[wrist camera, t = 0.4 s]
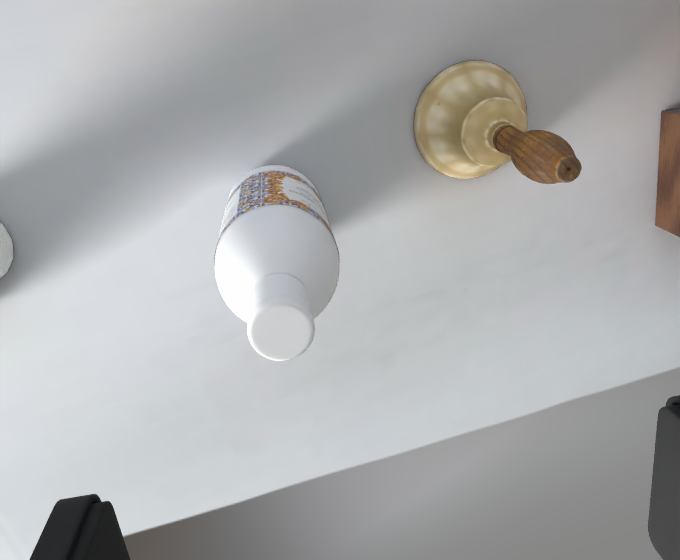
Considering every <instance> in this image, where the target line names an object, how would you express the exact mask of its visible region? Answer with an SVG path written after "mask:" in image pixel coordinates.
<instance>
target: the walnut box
mask: <svg viewBox="0 0 680 560" xmlns="http://www.w3.org/2000/svg"><path fill="white" fill-rule="evenodd" d="M655 225H656V226H658V227H660V228H662V229H664V230H666V231H668V232H670V233H672V234H675V235H677V236H679V237H680V108H676V109H670V110H664V111H662V113H661V131H660V150H659V168H658V187H657V205H656V224H655Z"/></svg>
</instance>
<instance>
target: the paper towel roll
mask: <svg viewBox="0 0 680 560" xmlns="http://www.w3.org/2000/svg"><path fill="white" fill-rule="evenodd" d="M12 260H13V244H12V240H11V238H10V236H9V234H8V232H7V230H6V228H5V226H4V225H3V224H2V223H0V278H1V277H2V276H3V275H4V274H6V273H7V272H8V269H9V267H10V264H11V262H12Z"/></svg>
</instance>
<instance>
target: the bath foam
mask: <svg viewBox="0 0 680 560" xmlns="http://www.w3.org/2000/svg"><path fill="white" fill-rule="evenodd" d="M214 267H215V275H216V280H217V284H218V287H219V290H220V293H221V295H222V297H223V298H224V300H225V302H226V303H227V305H228V306H229V307H230V309H231V310H232V311H233V312H234V313H235V314H236V315H237V316H238V317H240V318H241V319H242V320H244V321H245V322H247V323H248V327H247V331H248V337H249V341H250V343H251V345H252V346H253V348H254V349H255V350H256V351H257V352H258V353H259V354H260V355H262V356H264V357H266V358H268V359H271V360H277V361H284V360H290V359H293V358H295V357H297V356H299V355H301V354H302V353H303V352H304V351H306V349H307V348H308V347H309V346H310V344H311V342H312V340H313V337H314V331H315V327H314V318H315V317H317V316H318V315H319V314H320V313H321V312H322V311H323V310H324V308H325V307H326V306H327V305H328V303H329V302H330V300H331V298H332V296H333V294H334V292H335V289H336V286H337V282H338V277H339V252H338V248H337V245H336V242H335V239H334V236H333V233H332V230H331V227H330V224H329V221H328V218H327V216H326V213H325V210H324V207H323V204H322V201H321V199H320V196H319V194H318V192H317V190H316V188H315V187H314V185H313V184H312V183H311V181H310V180H309V179H308V178H307V177H305V176H304V175H303V174H301V173H300V172H298V171H296V170H294V169H292V168H289V167H285V166H280V165H268V166H263V167H259V168H256V169H254V170H252V171H250V172H248V173H247V174H245V175H244V176H243V177H242V178H241V179H240V180H239V181H238V182H237V183H236V185H235V186H234V188H233V189H232V191H231V193H230V195H229V198H228V201H227V205H226V209H225V213H224V217H223V222H222V226H221V230H220V235H219V239H218V243H217V248H216V252H215V260H214Z"/></svg>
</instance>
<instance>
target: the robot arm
mask: <svg viewBox="0 0 680 560" xmlns="http://www.w3.org/2000/svg"><path fill="white" fill-rule="evenodd" d="M648 532H649V536H650V539H651V542H652V544H653V546H654V548H655V549H656V551H657V552H658V553H659V555H660V556H661V557H662V559H663V560H680V395H679V396H674V397H671V398H669V399H668V401H667V402H666V406H665V407H663V408H661V409H660V410H659V413H658V421H657V432H656V443H655V454H654V465H653V476H652V489H651V499H650V511H649V521H648ZM30 560H130V558H129V555H128V552H127V549H126V545H125V542H124V539H123V536H122V533H121V530H120V527H119V524H118V521H117V518H116V515H115V512H114V508H113V506H112V504H111V503H110V501H105V502H101V500H100V498H99V497H98V496H97V495H96V494H91V495H85V496H79V497H73V498H67V499H62V500H59V501H58V502H57V503H56V504H55V506H54V508H53V510H52V512H51V514H50V517H49V519H48V521H47V523H46V525H45V527H44V530H43V532H42V534H41V536H40V538H39V540H38V543H37V545H36V547H35V549H34V551H33V553H32V556H31V558H30Z"/></svg>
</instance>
